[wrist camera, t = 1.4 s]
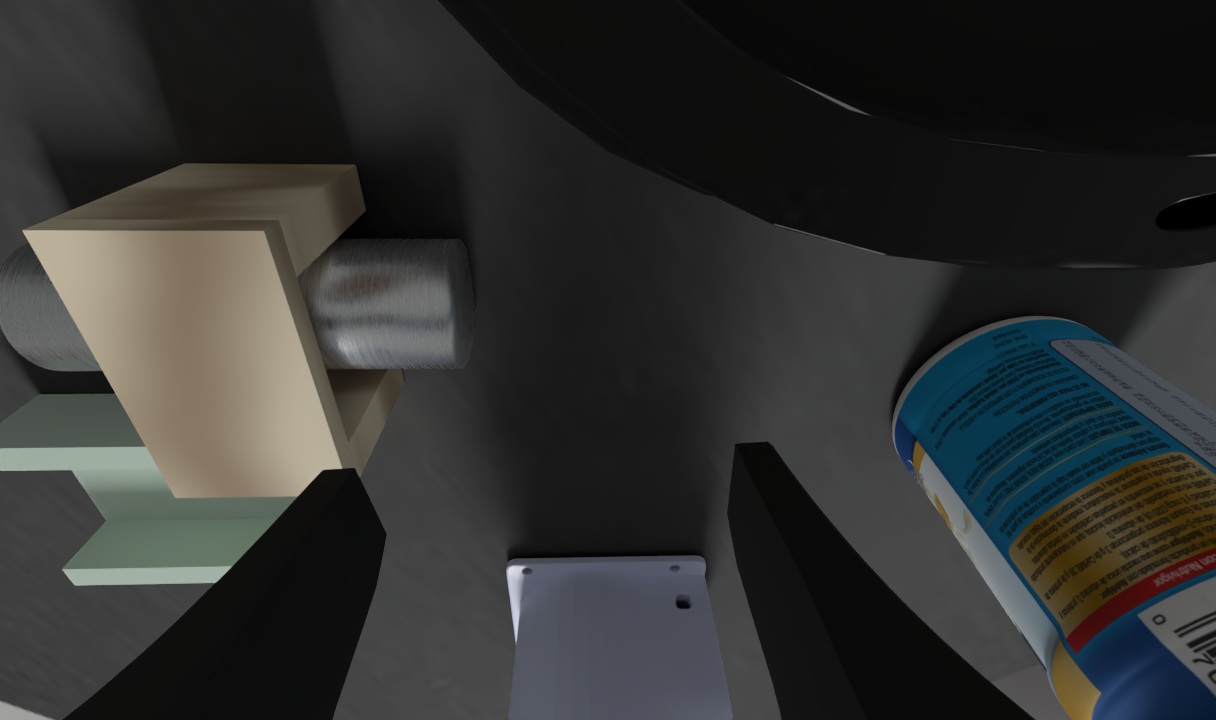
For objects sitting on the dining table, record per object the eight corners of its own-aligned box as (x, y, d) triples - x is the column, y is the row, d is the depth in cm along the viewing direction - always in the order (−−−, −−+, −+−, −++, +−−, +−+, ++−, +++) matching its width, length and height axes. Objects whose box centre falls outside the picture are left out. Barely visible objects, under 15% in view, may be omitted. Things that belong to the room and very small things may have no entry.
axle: (467, 225, 18) (439, 260, 15) (478, 336, 20) (455, 392, 17) (89, 224, 18) (-35, 260, 14) (135, 338, 20) (35, 395, 16)
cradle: (285, 392, 21) (245, 445, 19) (333, 522, 25) (305, 581, 23) (40, 394, 21) (-36, 448, 18) (126, 525, 25) (74, 585, 22)
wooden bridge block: (355, 164, 17) (264, 230, 12) (404, 383, 21) (351, 495, 16) (184, 163, 17) (22, 230, 12) (269, 383, 21) (175, 498, 16)
